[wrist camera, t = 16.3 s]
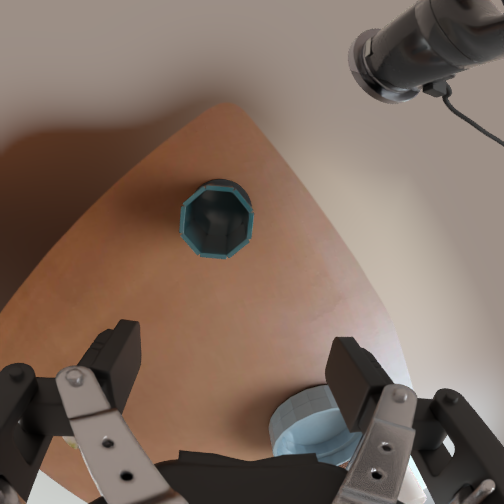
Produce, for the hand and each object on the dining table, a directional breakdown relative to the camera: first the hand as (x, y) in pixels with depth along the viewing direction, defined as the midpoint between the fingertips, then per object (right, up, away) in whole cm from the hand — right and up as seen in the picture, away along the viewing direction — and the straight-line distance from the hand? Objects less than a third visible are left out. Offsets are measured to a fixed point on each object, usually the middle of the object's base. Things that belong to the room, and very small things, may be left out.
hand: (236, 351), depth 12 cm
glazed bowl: (+11, -24, +32) cm, 42 cm away
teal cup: (-3, +9, +23) cm, 24 cm away
